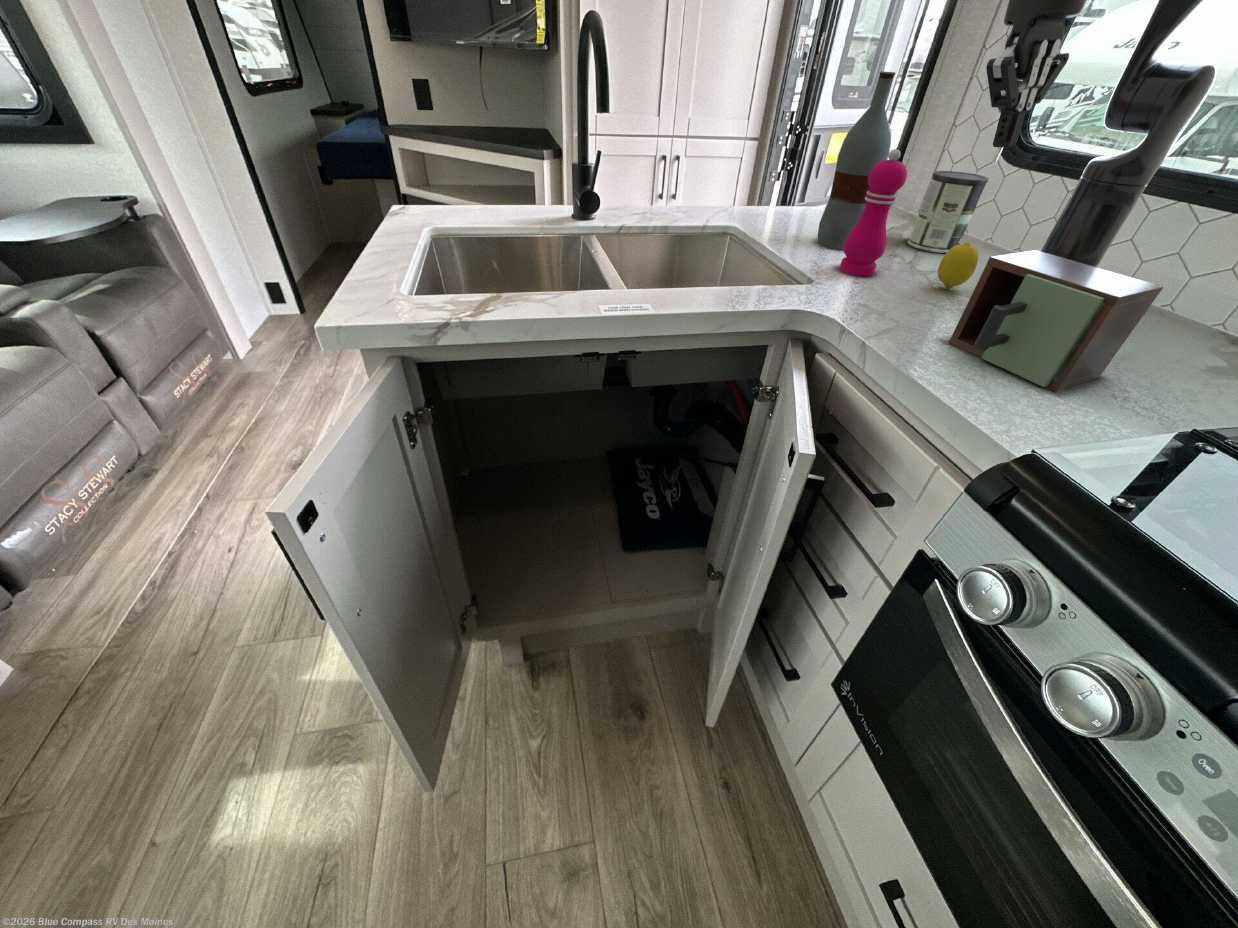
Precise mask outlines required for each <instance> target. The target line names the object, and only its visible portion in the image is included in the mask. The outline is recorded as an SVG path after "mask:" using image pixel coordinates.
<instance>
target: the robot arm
mask: <svg viewBox="0 0 1238 928" xmlns="http://www.w3.org/2000/svg"><path fill="white" fill-rule="evenodd" d="M1207 1H1208V0H1155V2H1154V5H1153V7H1152V10H1151V12H1150V15H1149V16H1148V19H1147V21H1146V23H1145V26H1144V27H1143V30H1142V31H1141V33H1140V35H1139V38H1138V40H1137V42H1136V44H1135V46H1134V48H1133V50H1132V52H1131V54H1130V55H1129V56H1130V57H1129V58H1128V61H1127V63H1126V64H1125V66H1124V69H1123V71H1122V73H1121V75H1120V77H1119V79H1118V81H1117V83H1116V85H1115V87H1114V90H1113V92H1112V94H1111V96H1110V99H1109V101H1108V103H1107V106H1106V109H1105V113H1104V118H1103V119H1104V120H1103V125H1104V127H1105V128H1106V129H1107V130H1110V131H1116V132H1120V133H1130V134H1138V135H1139V134H1140V135H1146V136H1145V137H1144V138H1143V140H1142V141H1141V142H1140V143H1139V144H1138V145H1137V146H1134V147H1133V148H1131V149H1128V150H1125V151H1122V152H1119V153H1115V154H1109V155H1103V156H1098V157H1095V158H1093V159H1091V160H1089V162H1088V164H1087V165H1086V167H1085V168H1084V170H1083V172H1082V174H1081V176H1080V178H1079V179H1078V181H1077V183H1076V185H1075V187H1074V189H1073V191H1072V193H1071V195H1070V196H1069V197H1068V199H1067V202H1066V204H1065V206H1064V208H1063V209H1062V211H1061V213H1060V215H1059V216H1058V219H1057V220H1056V222H1055V224H1054V226H1053V228H1052V229H1051V231H1050V233H1049V235H1048V237H1047V239H1046V241H1045V243H1044V244H1043V246H1042V248H1041V250H1040V251H1041V252H1044V253H1048V254H1051V255H1055V256H1058V257H1062V258H1065V259H1069V260H1072V261H1076V262H1079V263H1083V264H1086V265H1090V266H1093V267H1097V268H1098V266H1099V265H1100V263H1101V261H1102V260H1103V258H1104V256H1105V255H1106V253H1107V252H1108V250H1109V248H1110V247H1111V245H1112V244H1113V242H1114V240H1115V239H1116V237H1117V235H1118V234H1119V232H1120V231H1121V229H1122V227H1123V226H1124V224H1125V222H1126V221H1127V219H1128V218H1129V216H1130V214H1131V213H1132V211H1133V210H1134V208H1135V206H1136V204H1137V203H1138V201H1139V200H1140V198H1141V196H1142V195H1143V193H1144V191H1145V190H1146V188H1147V186H1148V185H1149V184H1150V181H1151V180H1152V179H1153V177H1154V175H1155V174H1156V173H1157V171H1158V170H1159V168H1160V167H1161V166H1162V164H1163V163H1164V161H1165V160H1166V159H1167V157H1168V155H1169V154H1170V152H1171V150H1172V149H1173V147H1174V146H1175V144H1176V143H1177V141H1178V139H1180V137H1181V136H1182V134H1183V132H1184V131H1185V129H1186V128H1187V126H1188V125H1189V123H1191V120H1192V119H1193V118H1194V116H1195V115H1196V113H1197V112H1198V111H1199V110H1200V107H1201V106H1202V104H1203V103H1204V101H1205V100H1206V98H1207V97H1208V95H1209V92H1210V91H1211V89H1212V88H1213V85H1214V82H1215V81H1216V76H1217V67H1216V65H1215V64H1213V63H1209V62H1200V61H1199V62H1198V61H1194V62H1193V61H1174V60H1173V61H1165V60H1164V58H1165V56H1166V55H1165V54H1166V52H1167V50H1168V48H1169V47H1170V45H1171V44H1172V42H1173V40H1174V39H1175V37H1176V35H1177V34H1178V33H1179V31H1180V30H1181V29H1182V27H1183V26H1184V25H1185V24H1186V22H1188V20H1189V19H1190V18H1191V17H1192V16H1193V15H1194V14H1195V13H1196V12H1197V11H1198V10H1199V9H1200V8H1201V6H1203V5H1204V4H1205V3H1206V2H1207ZM1007 2H1008V3H1007V6H1006V11H1005V14H1004V17H1003V24H1004V25H1005V26H1006V27H1007V26H1008V27H1012V28H1011V31H1010V33H1009V35H1008V37H1007V38H1006V41H1005V43H1004V44H1005V45H1004V51H1003V52H1001V54H1000V55H999V56H998V57H995V58H990V59H988V61H987V62H986V63H987V64H986V67H985V68H986V76H987V83H988V84H987V85H988V90H989V91H988V92H989V99H990V105H991V108H997V109H998V113H1000V117H999V119H998V122H997V127H996V130H995V133H994V138H993V141H992V146H993V147H994V148H1009V147H1013V146H1015V145H1017V143H1018V140H1019V136H1020V134H1021V130H1022V127H1023V123H1024V120H1025V116H1026V113H1027V111H1030V110H1031V109H1032V108H1033V105H1034V104H1035V105H1037V104H1040V103H1041V102H1042V101H1043V99H1044V98H1045V96H1046V95H1047V93H1048V92H1049V90H1050V89H1051V87H1052V86H1053V84H1054V83H1055V82H1056V79H1058V77H1059V75H1060V73H1061V72H1062V71H1063V69H1064V68H1065V66H1066V64H1067V63H1068V61H1069V58H1070V54H1069V52H1065V53H1061V49H1060V46H1061V45H1062V43H1063V40H1064V37H1065V27H1066V23H1067V21H1068V19H1070V18H1071V19H1072V18H1074V17H1077V16H1079V15H1080V14H1081V13H1082V12H1083V10H1084V8H1085V5H1086V2H1087V0H1008V1H1007Z"/></svg>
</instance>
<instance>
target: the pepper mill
mask: <svg viewBox="0 0 1238 928" xmlns="http://www.w3.org/2000/svg"><path fill="white" fill-rule="evenodd" d="M900 157H901V151H900V150H899V149H897V148H895V149H892V150H890V151H889V155H888V159H887V160H884V161H881V162H879V163H878V164H876V165H875V166H874V167H873V168H872V170H871V172H870V174H869V177H868V184H869V187H870V190H869V191H867V195H866V197H865V200H866V205H865V208H864V211H863V213H862V216H861V218H860V219H859V221H858V223H857V224H856V225H855V227H854V228H853V229H852V231H851V232H850V233H849V235H848V237H847V238H846V240H845V243H844V246H843V250H842V251H843V252H844V253H843V254H844V255H845V257H843V258H842V259H841V262H840V264H839V270H840V271H841V272H843V273H844V274H847V275H850V276H855V277H871V276H873V275H874V274H875V272H876V268H877V262H876V261H877V260H879V259H880V258H881V257H882V256H883V255H884V254H885V251H886V247H887V240H888V239H887V221H888V220H887V219H888V215H889V212H890V210H891V207H892V205H894V204H895V203H896V198H897V197H898V194H897V192H898V191H899V190H900V189H901V188H902V187H904V185H905V183H906V181H907V179H908V170H907V167H906V165H905V164H904V163H903V162H901V161H899V159H900Z"/></svg>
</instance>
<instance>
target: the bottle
mask: <svg viewBox="0 0 1238 928" xmlns="http://www.w3.org/2000/svg"><path fill="white" fill-rule="evenodd" d="M896 74H897V73H896V72H895V71H882V70H881V71H880V72H879V76H878V79H877V82H876V85H875V89H874V91H873V94H872V97H871V98H872V99H871V102H870V105H869V107H868V108H867V109H866V111H865V112H864V113H863V114H862V115H861V117H860V118H859V119H858V120H857V121H856V123H855V124H854V125H853V126H852V127H851V128H850V129H849V130H848V132H847V134H846V135H845V137H844V139H843V141H842V144H841V147H840V149H839V152H838V154H837V159H836V165H835V171H834V175H833V181H832V185H831V189H830V194H829V199H828V200H827V203H826V205H825V208H824V211H823V213H822V215H821V218H820V220H819V224H818V230H817V244H818V245H819V246H821V247H824V248H826V249H827V248H828V249H832V250H838V251H844V250H843V246H844V243H845V240H846V238H847V237H848V235H849V233H850V232H851V231H852V229H853V228H854V227H855V225H856V224H857V223H858V221H859V219H860V218H861V216H862V213H863V211H864V208H865V205H866V200H865V197H866V195H867V191H869V190H870V187H869V184H868V177H869V174H870V172H871V170H872V168H873V167H874V166H875V165H876V164H878V163H879V162H881V161H884V160H889V158H888V157H889V153H890V151H891V145H892V133H891V129H890V125H889V119H888V116H887V111H886V106H887V102H888V100H889V96H890V92H891V89H892V86H893V82H894V79H895V78H894V77H895V76H896Z"/></svg>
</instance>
